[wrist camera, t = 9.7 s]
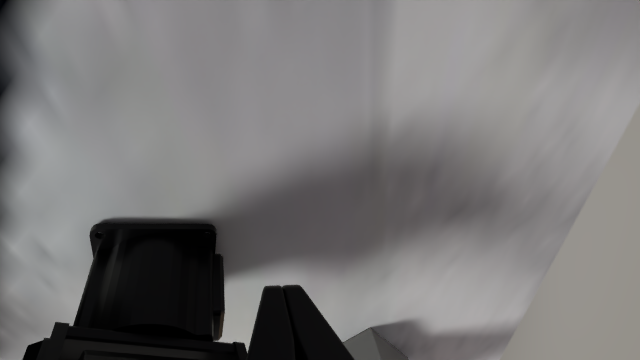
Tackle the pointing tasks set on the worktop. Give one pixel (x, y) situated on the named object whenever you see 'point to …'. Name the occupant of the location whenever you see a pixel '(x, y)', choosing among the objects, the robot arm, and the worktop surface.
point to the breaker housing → (372, 347)
